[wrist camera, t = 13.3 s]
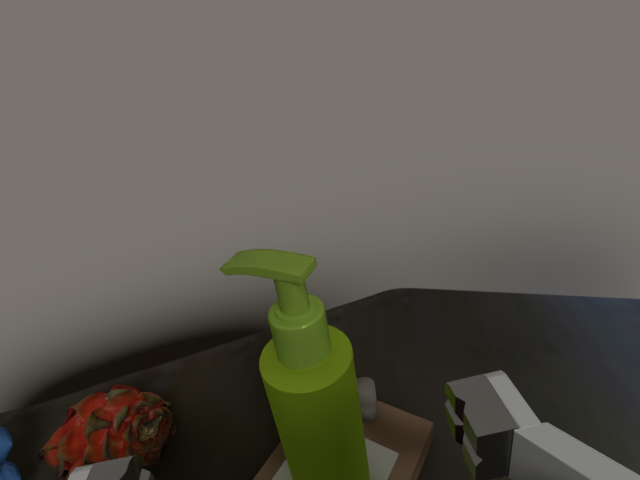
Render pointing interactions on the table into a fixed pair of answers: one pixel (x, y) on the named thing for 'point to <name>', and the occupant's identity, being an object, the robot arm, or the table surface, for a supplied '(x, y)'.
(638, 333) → the table surface
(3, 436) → the grapes
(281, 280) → the soap dispenser
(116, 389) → the dragon fruit
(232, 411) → the table surface
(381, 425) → the pin seat
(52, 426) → the table surface
